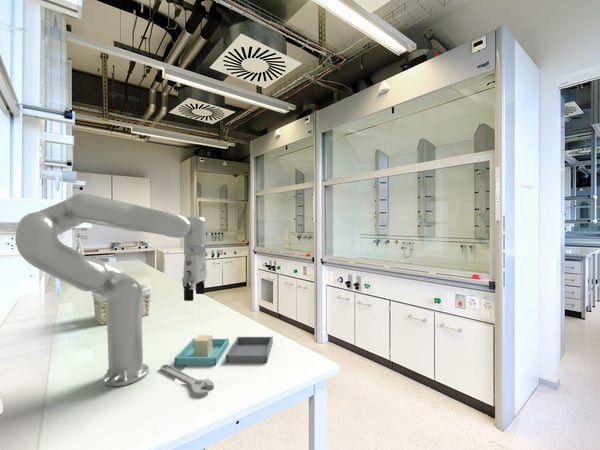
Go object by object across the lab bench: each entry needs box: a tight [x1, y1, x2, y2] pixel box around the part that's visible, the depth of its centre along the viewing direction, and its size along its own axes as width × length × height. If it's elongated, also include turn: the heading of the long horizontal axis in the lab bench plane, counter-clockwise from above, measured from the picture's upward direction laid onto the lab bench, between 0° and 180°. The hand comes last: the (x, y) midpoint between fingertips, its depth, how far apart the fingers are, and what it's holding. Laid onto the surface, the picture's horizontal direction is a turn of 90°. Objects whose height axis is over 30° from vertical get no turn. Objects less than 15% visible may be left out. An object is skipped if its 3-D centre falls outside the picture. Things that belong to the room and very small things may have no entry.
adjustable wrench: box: [160, 364, 215, 398], centre depth 94 cm, size 25×6×2 cm, turn 49°
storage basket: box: [91, 283, 152, 325], centre depth 153 cm, size 24×16×15 cm
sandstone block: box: [194, 334, 213, 357], centre depth 109 cm, size 5×5×6 cm
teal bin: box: [174, 338, 230, 368], centre depth 109 cm, size 16×14×3 cm
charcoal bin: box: [225, 336, 274, 364], centre depth 111 cm, size 16×14×3 cm
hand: (194, 297), depth 110 cm, fingers open, 9 cm apart
